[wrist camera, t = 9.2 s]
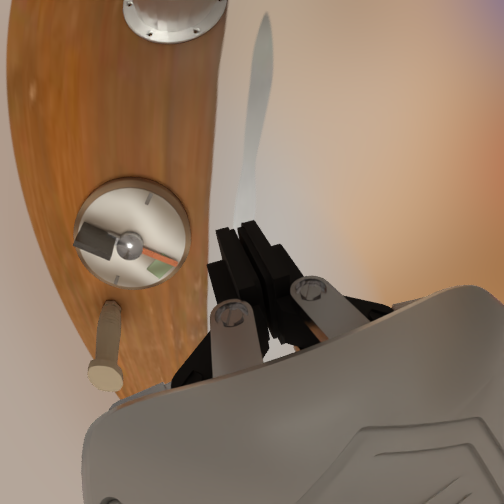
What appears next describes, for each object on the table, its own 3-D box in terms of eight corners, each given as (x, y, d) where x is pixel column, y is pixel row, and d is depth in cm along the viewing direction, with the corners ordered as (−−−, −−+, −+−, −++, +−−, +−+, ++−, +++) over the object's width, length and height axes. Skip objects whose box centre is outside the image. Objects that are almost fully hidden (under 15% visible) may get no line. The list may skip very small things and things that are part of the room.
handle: (101, 319, 45) (94, 390, 33) (96, 291, 42) (83, 364, 29) (127, 320, 46) (125, 392, 34) (123, 291, 43) (118, 366, 31)
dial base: (163, 293, 46) (164, 304, 43) (66, 261, 37) (62, 271, 35) (210, 204, 40) (213, 211, 38) (97, 158, 32) (93, 163, 30)
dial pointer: (182, 252, 40) (185, 274, 35) (171, 271, 41) (173, 294, 36) (87, 211, 32) (77, 230, 28) (79, 233, 33) (70, 254, 29)
